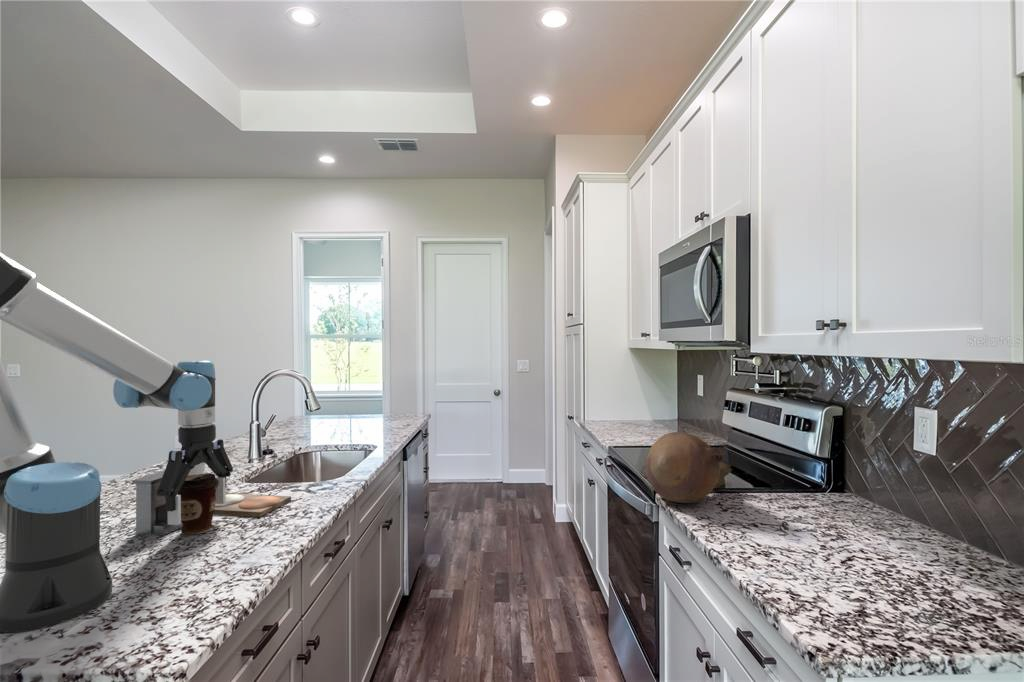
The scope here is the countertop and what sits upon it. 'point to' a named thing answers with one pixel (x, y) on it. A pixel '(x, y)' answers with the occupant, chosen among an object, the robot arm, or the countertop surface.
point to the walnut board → (250, 504)
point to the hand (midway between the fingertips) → (198, 513)
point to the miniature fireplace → (151, 507)
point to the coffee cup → (198, 503)
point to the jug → (684, 467)
